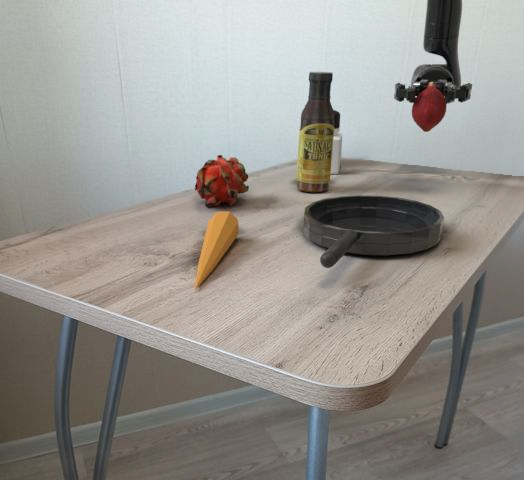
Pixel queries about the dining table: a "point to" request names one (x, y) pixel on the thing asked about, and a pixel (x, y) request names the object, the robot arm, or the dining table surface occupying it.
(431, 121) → the onion
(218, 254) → the carrot
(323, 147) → the sauce bottle
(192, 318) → the dining table surface
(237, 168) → the dragon fruit
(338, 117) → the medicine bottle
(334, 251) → the pan handle
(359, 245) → the pan
